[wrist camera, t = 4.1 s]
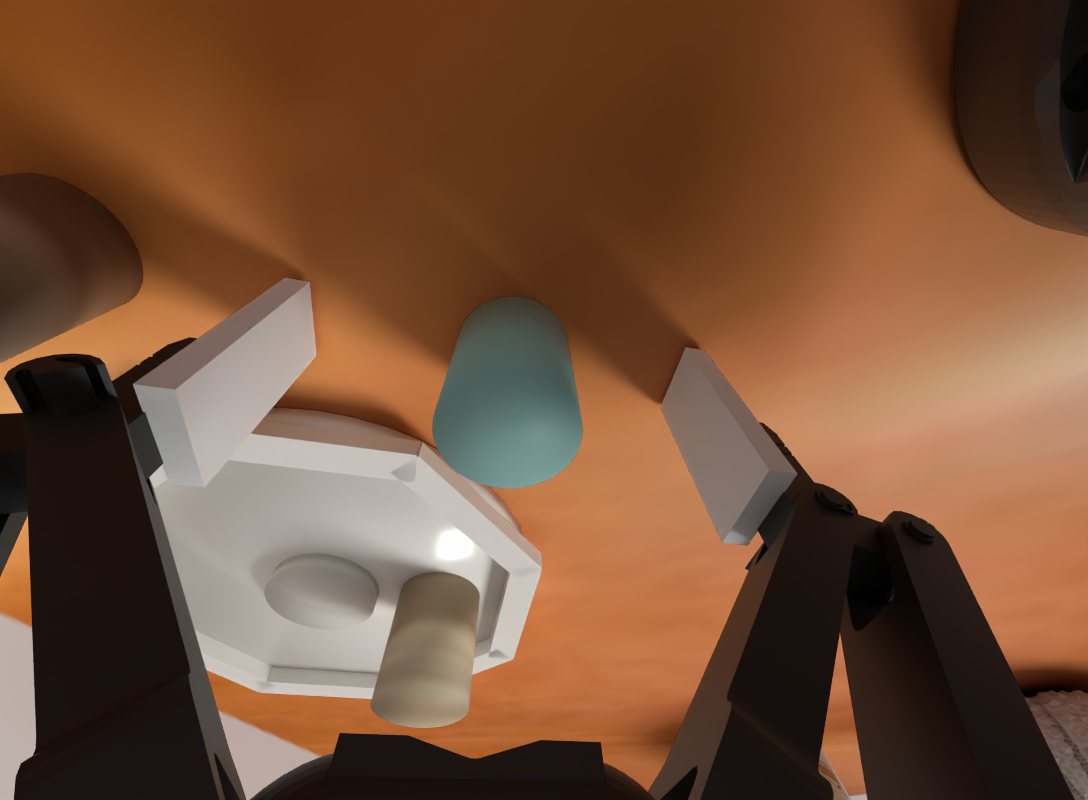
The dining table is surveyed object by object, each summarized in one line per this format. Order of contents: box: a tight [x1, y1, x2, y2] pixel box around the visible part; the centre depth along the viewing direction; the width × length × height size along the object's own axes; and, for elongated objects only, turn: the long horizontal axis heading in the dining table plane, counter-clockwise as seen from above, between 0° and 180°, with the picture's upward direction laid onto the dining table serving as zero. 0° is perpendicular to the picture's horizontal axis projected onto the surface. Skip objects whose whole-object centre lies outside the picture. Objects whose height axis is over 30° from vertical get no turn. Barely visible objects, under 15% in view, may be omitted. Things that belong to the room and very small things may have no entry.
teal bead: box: [433, 296, 583, 488], centre depth 14 cm, size 4×4×5 cm
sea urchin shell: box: [1024, 690, 1088, 800], centre depth 32 cm, size 13×14×8 cm
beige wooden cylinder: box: [371, 572, 480, 728], centre depth 20 cm, size 4×4×5 cm
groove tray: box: [149, 408, 542, 699], centre depth 22 cm, size 20×20×2 cm
